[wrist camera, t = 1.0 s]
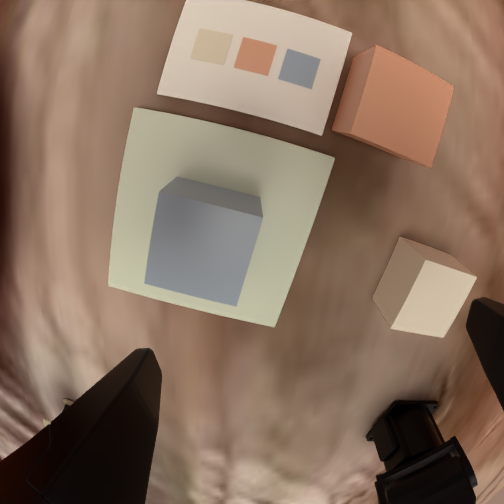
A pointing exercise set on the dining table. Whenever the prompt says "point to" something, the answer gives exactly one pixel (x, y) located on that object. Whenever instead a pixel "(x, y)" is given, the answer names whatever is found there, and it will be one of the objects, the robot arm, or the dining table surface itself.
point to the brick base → (202, 240)
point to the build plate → (226, 176)
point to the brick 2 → (422, 289)
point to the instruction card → (256, 61)
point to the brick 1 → (394, 106)
